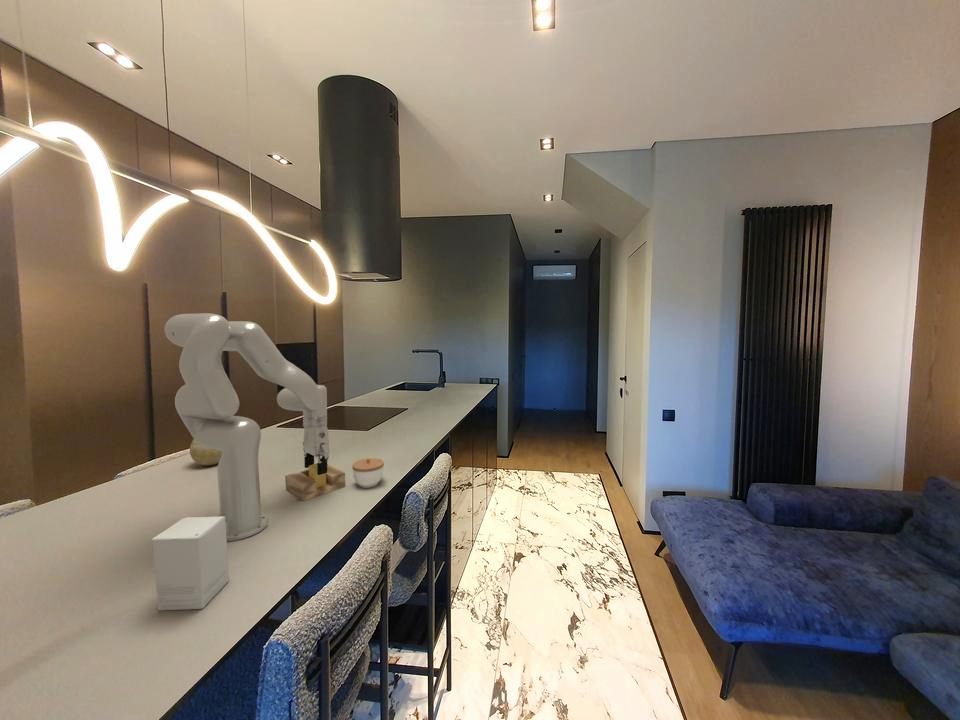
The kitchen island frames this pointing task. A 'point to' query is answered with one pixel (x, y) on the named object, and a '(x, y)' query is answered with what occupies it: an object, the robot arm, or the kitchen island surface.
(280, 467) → the kitchen island surface
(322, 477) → the yellow upright block
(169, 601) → the supplement box
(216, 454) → the fossilized egg
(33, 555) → the kitchen island surface
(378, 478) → the lidded jar
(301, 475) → the notched board
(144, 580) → the kitchen island surface
